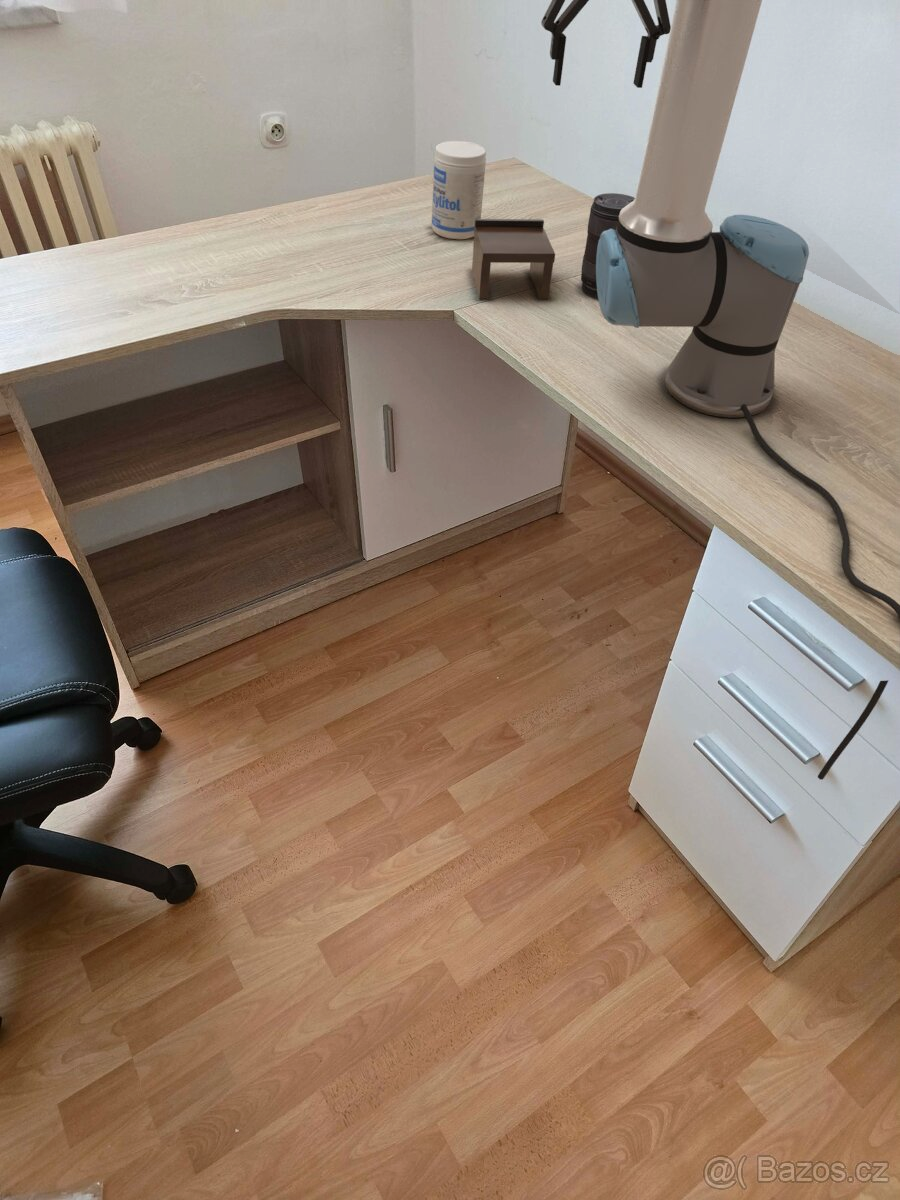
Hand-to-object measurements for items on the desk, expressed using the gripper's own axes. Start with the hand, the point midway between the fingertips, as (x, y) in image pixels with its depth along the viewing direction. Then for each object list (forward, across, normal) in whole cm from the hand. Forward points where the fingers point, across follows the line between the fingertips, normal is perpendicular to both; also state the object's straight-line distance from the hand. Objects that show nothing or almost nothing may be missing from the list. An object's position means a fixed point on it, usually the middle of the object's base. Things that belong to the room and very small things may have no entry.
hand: (597, 84), depth 128 cm
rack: (+28, +14, +13) cm, 33 cm away
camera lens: (+28, -2, +15) cm, 32 cm away
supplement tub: (+28, +21, -11) cm, 36 cm away
